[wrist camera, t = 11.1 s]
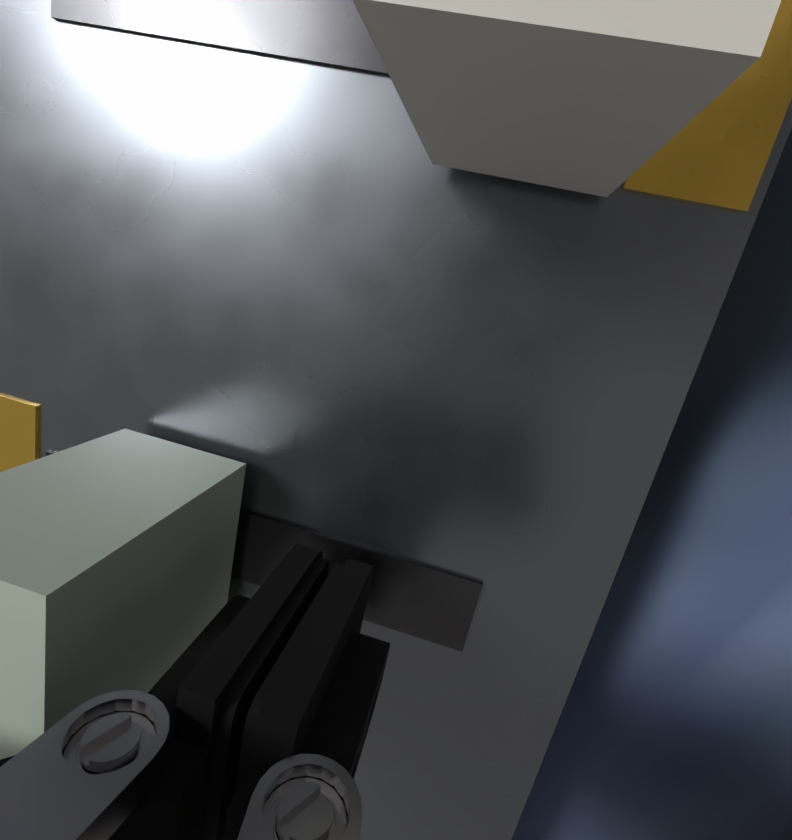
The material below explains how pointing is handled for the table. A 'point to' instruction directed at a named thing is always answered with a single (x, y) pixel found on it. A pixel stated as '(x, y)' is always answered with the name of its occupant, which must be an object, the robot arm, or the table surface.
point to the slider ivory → (561, 78)
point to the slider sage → (107, 571)
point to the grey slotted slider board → (367, 342)
